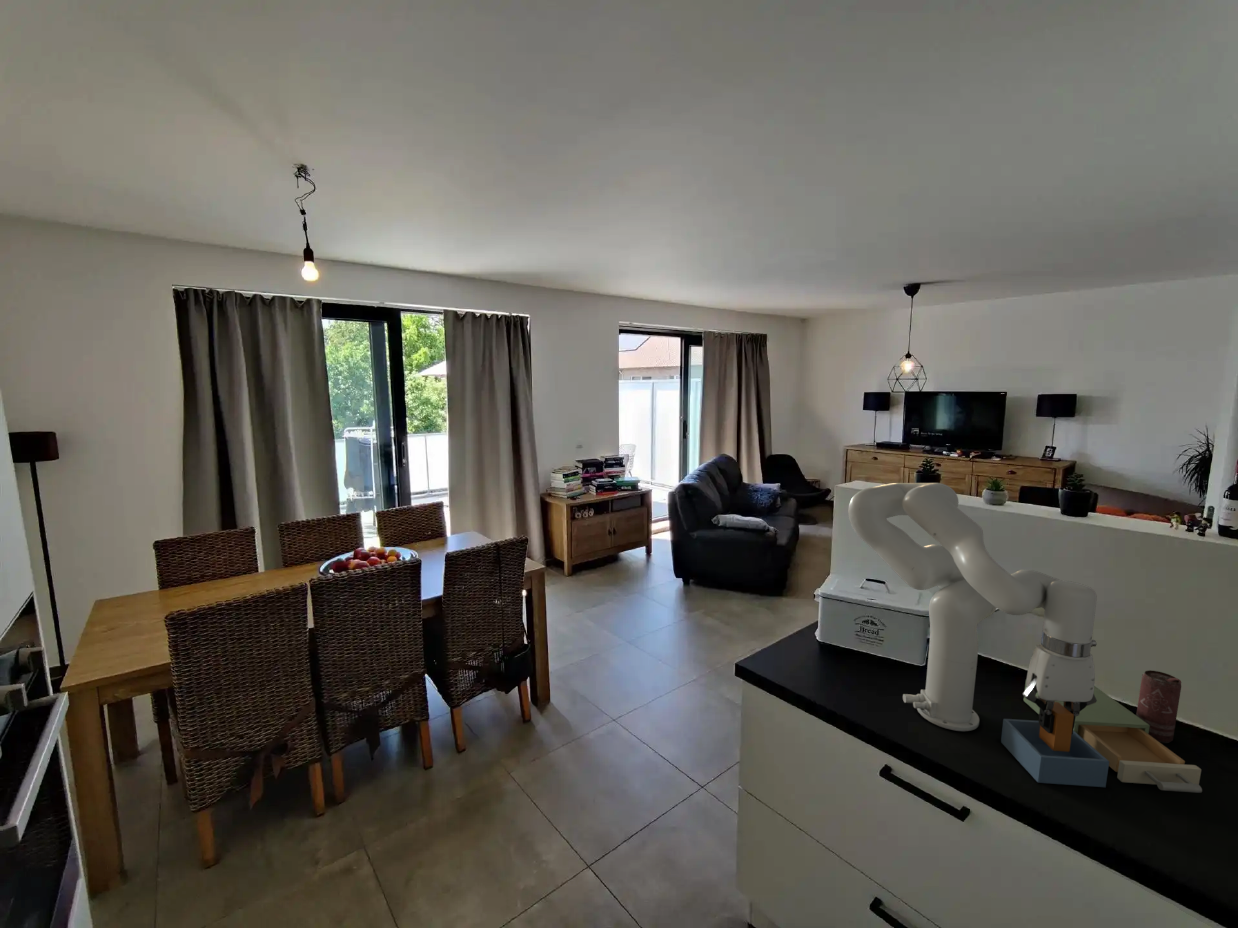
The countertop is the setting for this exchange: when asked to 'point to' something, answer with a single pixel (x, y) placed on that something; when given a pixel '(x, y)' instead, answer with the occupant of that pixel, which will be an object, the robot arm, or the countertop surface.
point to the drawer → (1141, 758)
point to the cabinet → (1102, 713)
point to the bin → (1054, 756)
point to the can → (1159, 704)
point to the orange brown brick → (1059, 729)
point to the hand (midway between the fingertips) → (1055, 728)
